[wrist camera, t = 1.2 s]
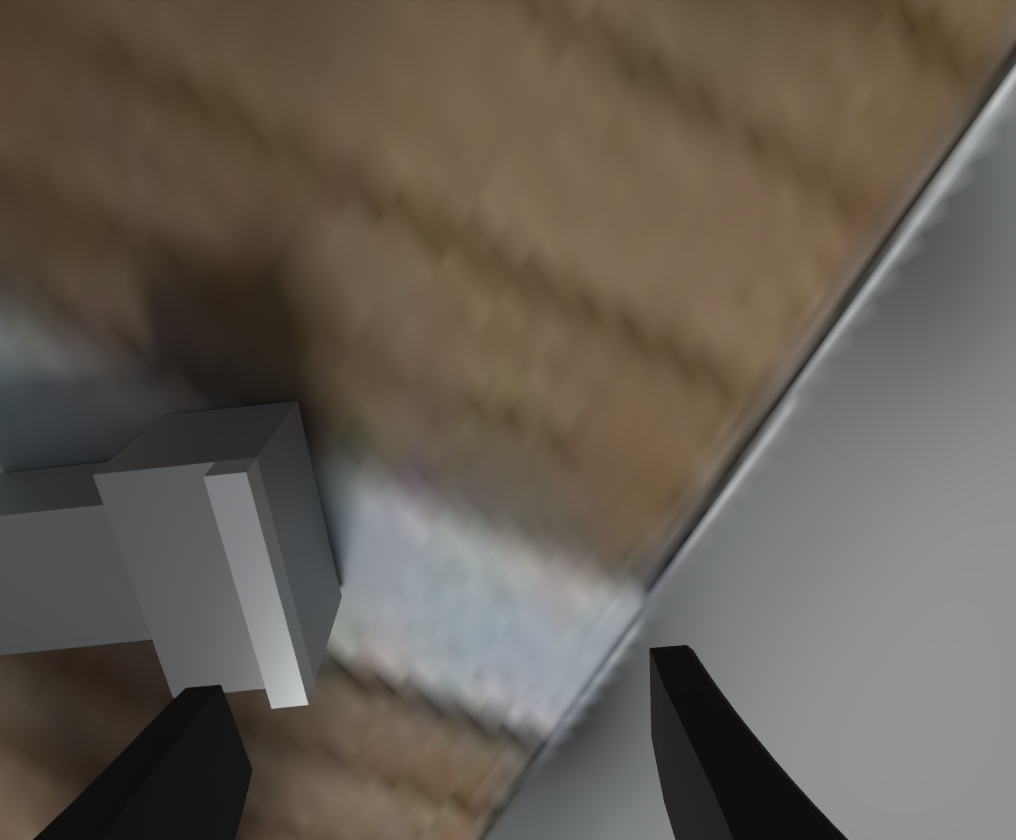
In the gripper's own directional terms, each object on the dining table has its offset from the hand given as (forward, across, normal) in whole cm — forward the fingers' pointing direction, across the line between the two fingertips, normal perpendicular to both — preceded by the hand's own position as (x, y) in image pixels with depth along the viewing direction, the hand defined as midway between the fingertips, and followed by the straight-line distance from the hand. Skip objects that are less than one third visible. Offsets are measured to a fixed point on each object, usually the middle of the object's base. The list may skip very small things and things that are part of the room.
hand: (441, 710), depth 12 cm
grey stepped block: (+10, +9, +2) cm, 14 cm away
